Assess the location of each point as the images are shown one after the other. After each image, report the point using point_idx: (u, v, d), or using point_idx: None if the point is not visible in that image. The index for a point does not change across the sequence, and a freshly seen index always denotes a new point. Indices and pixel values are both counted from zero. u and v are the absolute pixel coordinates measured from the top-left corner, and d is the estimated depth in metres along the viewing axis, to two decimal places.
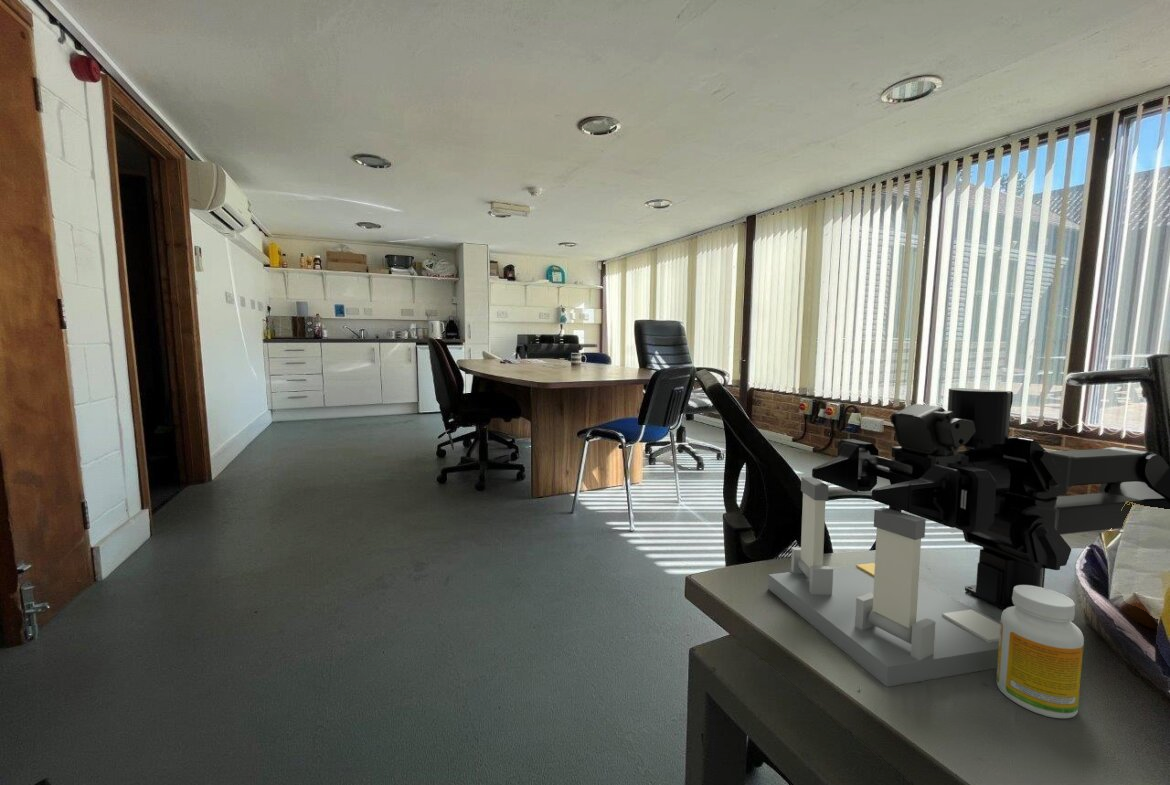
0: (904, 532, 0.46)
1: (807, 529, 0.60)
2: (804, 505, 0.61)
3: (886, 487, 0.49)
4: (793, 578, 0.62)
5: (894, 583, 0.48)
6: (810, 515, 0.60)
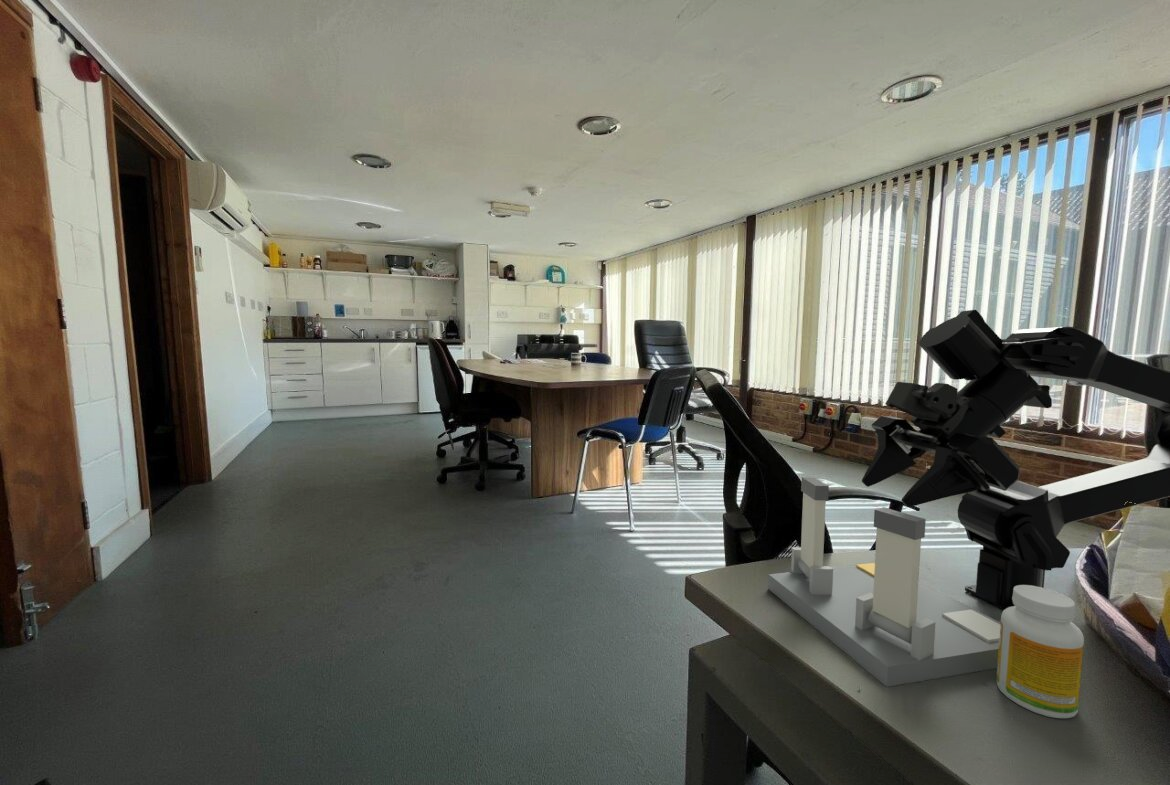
0: (904, 532, 0.46)
1: (807, 529, 0.60)
2: (804, 505, 0.61)
3: (910, 491, 0.55)
4: (793, 578, 0.62)
5: (894, 583, 0.48)
6: (810, 515, 0.60)
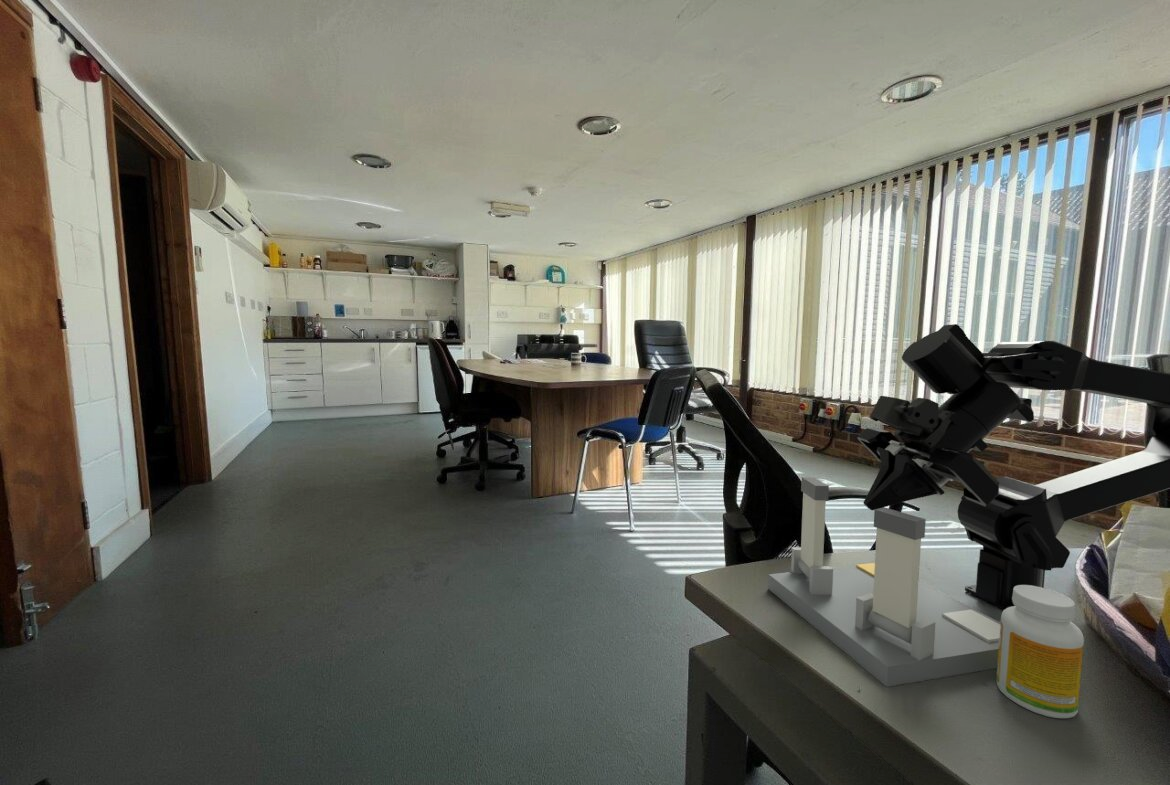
0: (904, 532, 0.46)
1: (807, 529, 0.60)
2: (804, 505, 0.61)
3: (873, 495, 0.59)
4: (793, 578, 0.62)
5: (894, 583, 0.48)
6: (810, 515, 0.60)
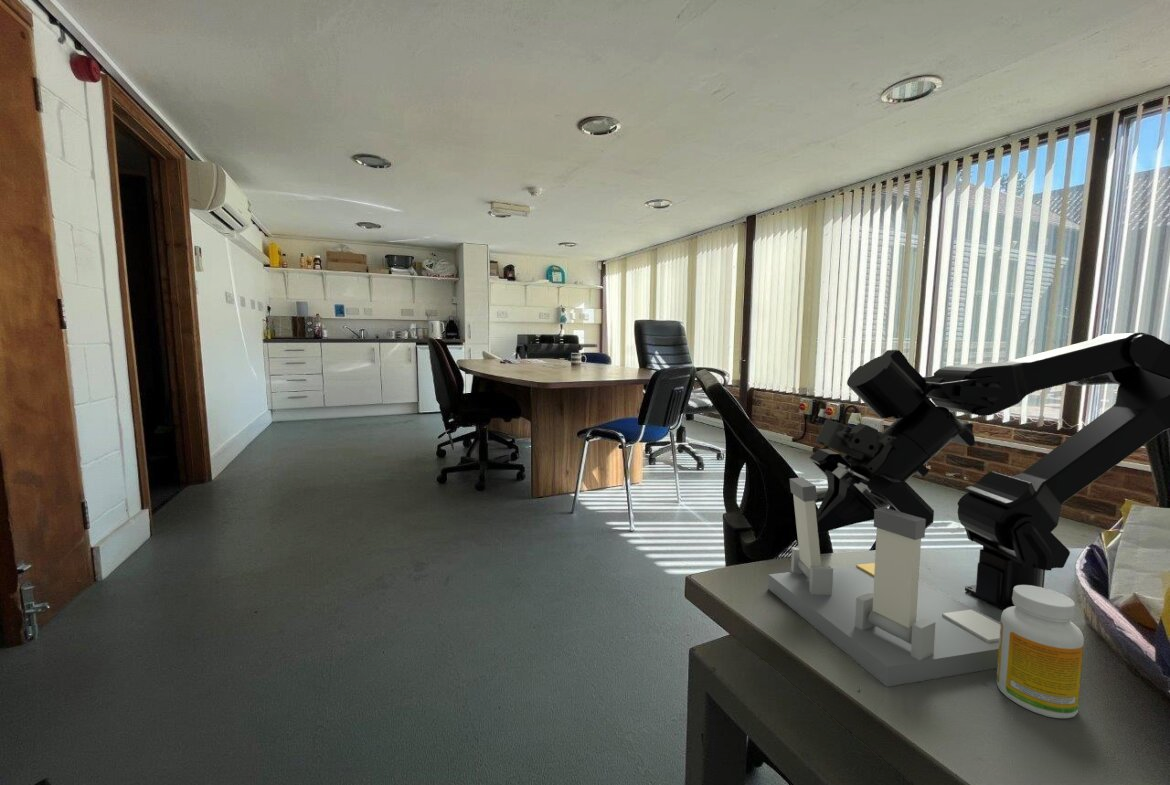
0: (904, 532, 0.46)
1: (801, 530, 0.60)
2: (796, 506, 0.61)
3: (818, 519, 0.60)
4: (793, 578, 0.62)
5: (894, 583, 0.48)
6: (802, 516, 0.60)
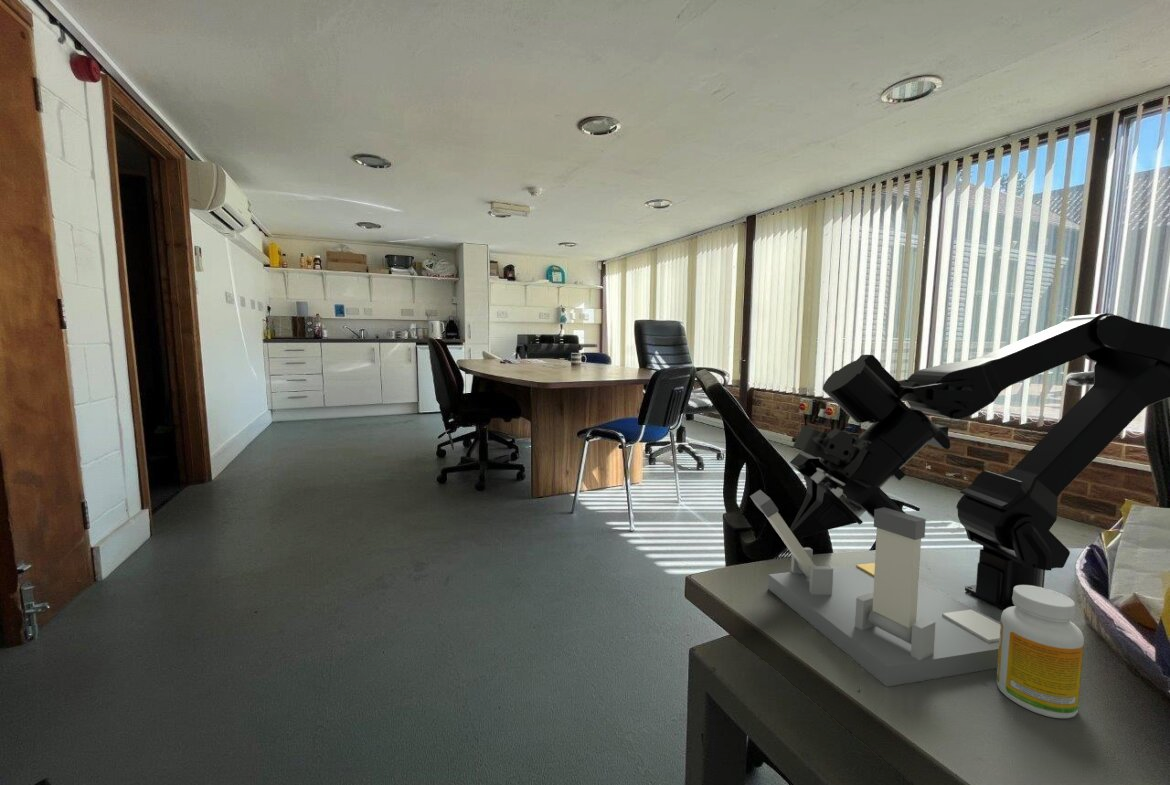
0: (904, 532, 0.46)
1: (782, 539, 0.61)
2: (768, 518, 0.62)
3: (797, 524, 0.60)
4: (793, 578, 0.62)
5: (894, 583, 0.48)
6: (776, 528, 0.60)
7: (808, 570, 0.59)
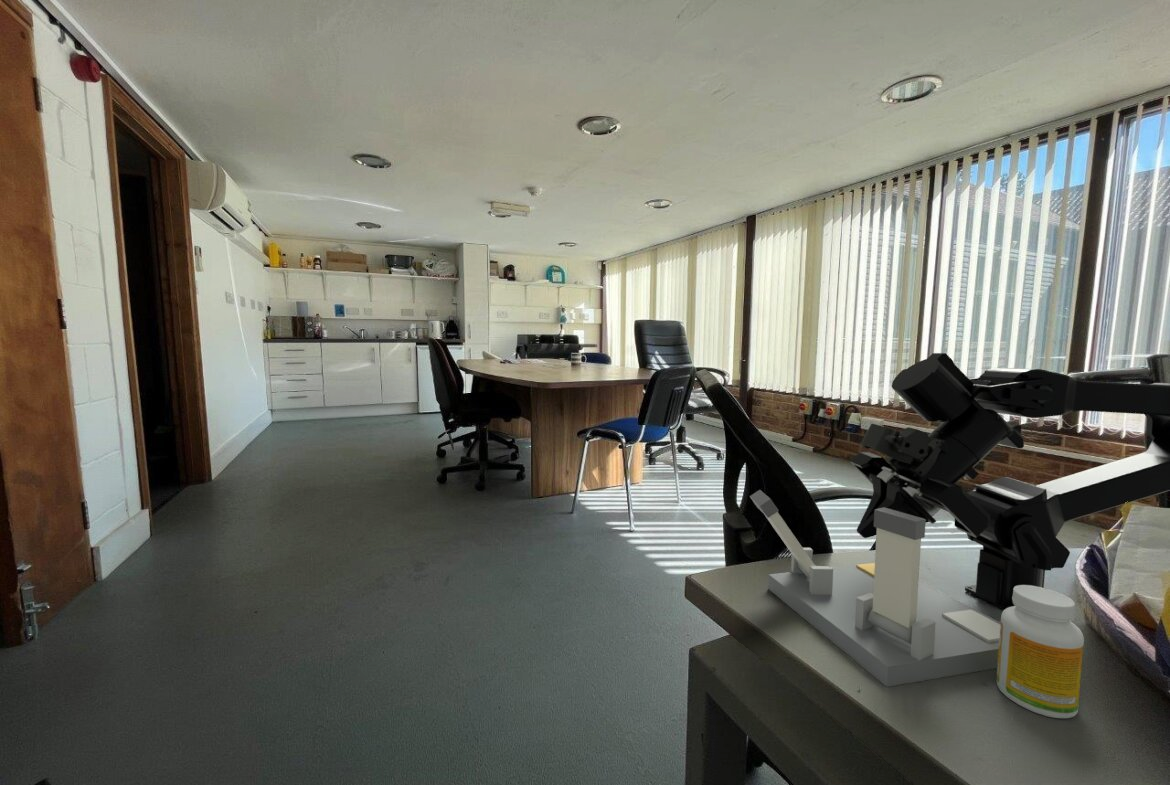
0: (904, 532, 0.46)
1: (782, 539, 0.61)
2: (768, 519, 0.62)
3: (866, 523, 0.60)
4: (793, 578, 0.62)
5: (894, 583, 0.48)
6: (775, 528, 0.60)
7: (808, 570, 0.59)
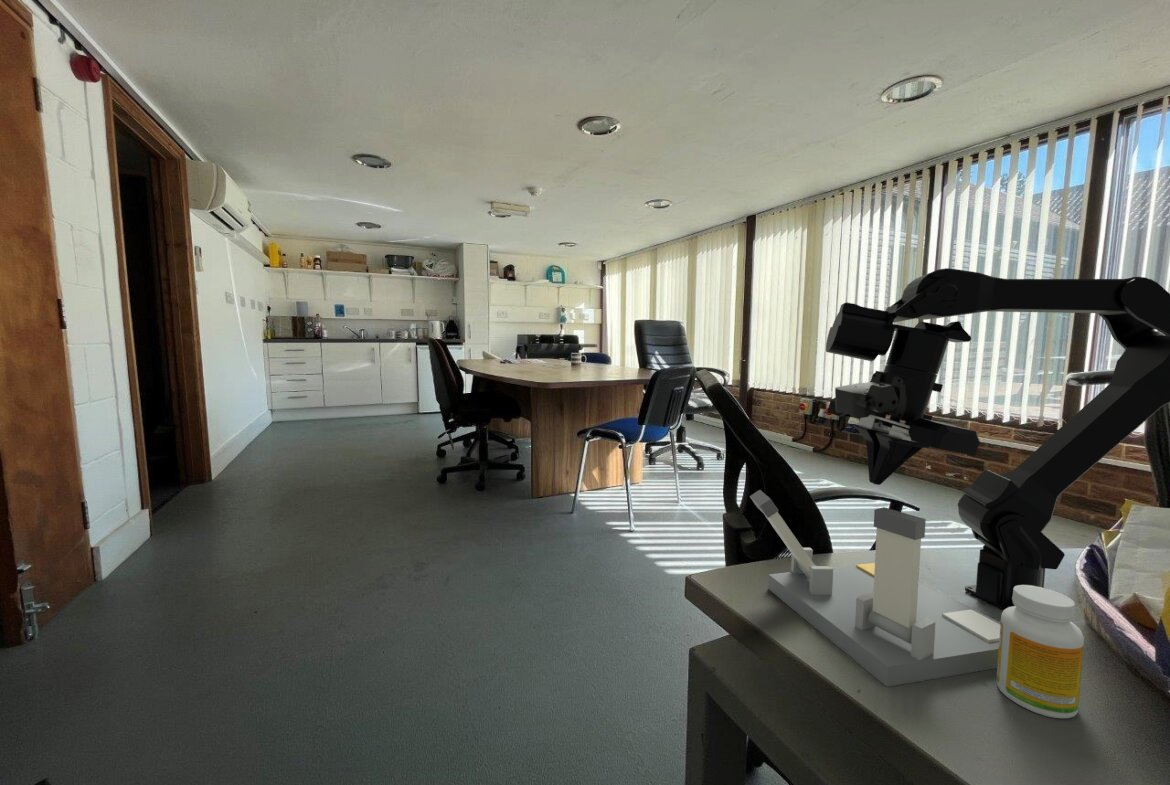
0: (904, 532, 0.46)
1: (782, 539, 0.61)
2: (768, 519, 0.62)
3: (874, 473, 0.63)
4: (793, 578, 0.62)
5: (894, 583, 0.48)
6: (775, 528, 0.60)
7: (808, 570, 0.59)
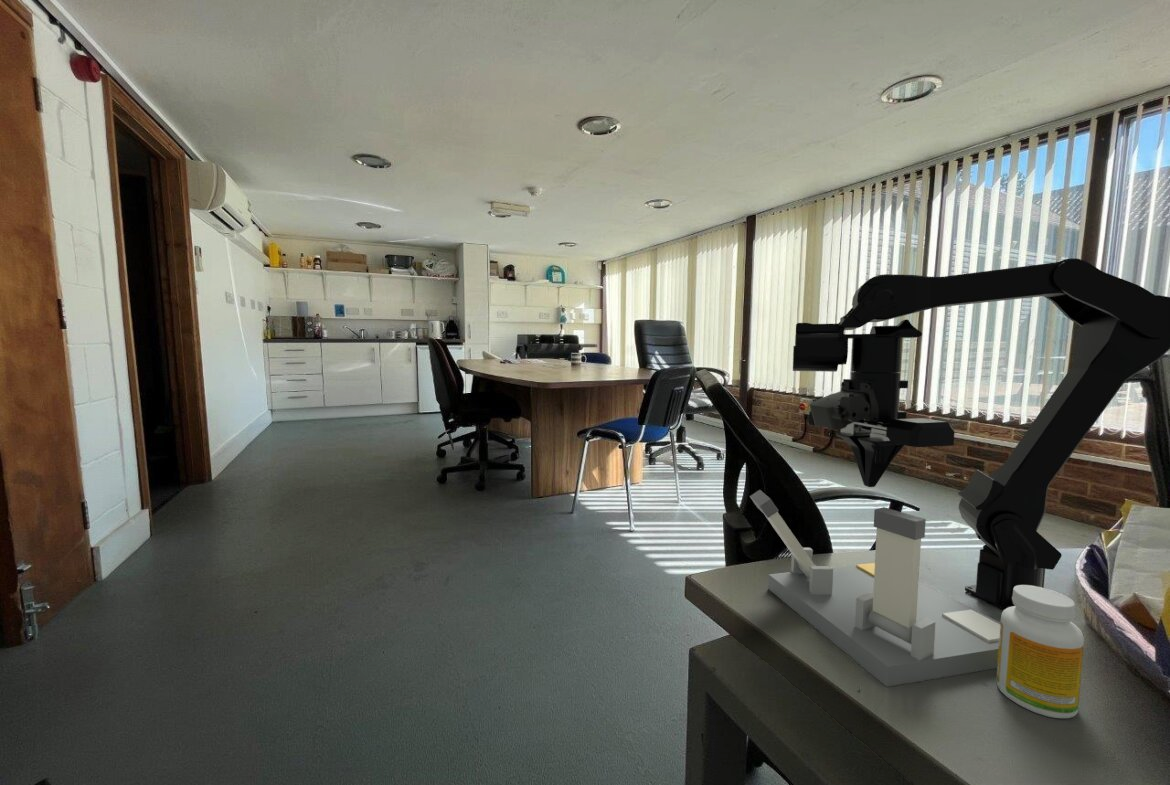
0: (904, 532, 0.46)
1: (782, 539, 0.61)
2: (768, 519, 0.62)
3: (867, 477, 0.64)
4: (793, 578, 0.62)
5: (894, 583, 0.48)
6: (775, 528, 0.60)
7: (808, 570, 0.59)
